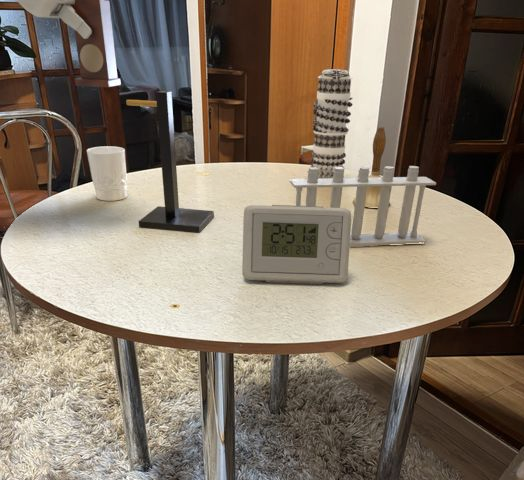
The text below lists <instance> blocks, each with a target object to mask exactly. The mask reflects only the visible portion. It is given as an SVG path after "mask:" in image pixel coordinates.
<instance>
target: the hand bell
mask: <svg viewBox="0 0 524 480" xmlns="http://www.w3.org/2000/svg"><path fill="white" fill-rule="evenodd" d="M386 137H387V136H386V132H385V126H377V130H376V132H375V133H374V136H373V140H372V141H373V142H372V156H373V161H372V166H371V167H372V168H371V174H369V177H368V178H383V176H381V175H380V172H381V161H382V157H383V155H384V152H385V149H386V142H387V138H386ZM380 193H381V186H367V192H366V200H365V207H379V200H380ZM355 199H356V196H355V197H354V198H353V199H352V204H354V205H355ZM389 204H390V205H391V202H390V201H389Z"/></svg>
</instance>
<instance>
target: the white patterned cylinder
mask: <svg viewBox="0 0 524 480" xmlns="http://www.w3.org/2000/svg"><path fill="white" fill-rule="evenodd" d="M317 78H318V84H317V91H316V101H314V102H313V108H314V109H313V110H312V111H313V112H312V114H313V115H314V116H315V117H314V118H313V119H312V123H313V125H312V130H313V132H312V133H314V139H313V140H314V142H313V145H312V151H311V153H310V155H311V157H312V158H310V162H311V163H312V164H311V165H310V167H315V168H318V172H319V173H318V179H321V178H333V173H334V172H333V171H334V168H335V167H343V168H344V169H345V167H344V165H345V164H346V160H345V159H344V158H346V157H347V155H346V152H345V151H346V145H345V143H346V136H347V135H348V132H349V128H348V127H347V125H348V124H349V123H351V120H350V118H349V117H350V116H351V115H352V113H351V111H349V110H348V109H349V108H351V107H352V106H353V105H354V104H353V103H352V102H351V101H352V100H353V97H351V94H352V93H351V86H352V80H353V77H351V76H350V73H349V71H348V70H346V69H333V68H332V69H324V70H323V71H322V72H321V73H320V75H319V76H317ZM343 178H345V176H344V175H343Z"/></svg>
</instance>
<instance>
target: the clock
mask: <svg viewBox="0 0 524 480" xmlns="http://www.w3.org/2000/svg"><path fill="white" fill-rule="evenodd" d="M71 7H72V8H73V9H74V10H75V13H76V14H77V15H78V16H79V17H81V18H82V19H83V20H84V22H88V23H89V24H90V26H91V27H92V28H93V29H94V34H93V35H92V37H91V38H90V39H84V38H83V37H82V36H81V35H80V34H79V33H78V32H77V31H76V30H75V29H73V30H74V31H73V32H74V38H75V45H76V53H77V58H78V66H79V73H80V77H79V78H78V77H77V78H74V85H75V86H76V87H77V86H78V87H94V88H95V87H96V88H112V87H118V86H121V85H122V83H121V78H119V77H118V71H117V70H118V69H117V68H118V67H117V61H116V60H117V59H116V52H115V50H116V49H115V41H114V34H113V33H114V31H113V24H112V14H111V5H110V0H75V4H71Z"/></svg>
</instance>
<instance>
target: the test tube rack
mask: <svg viewBox="0 0 524 480" xmlns="http://www.w3.org/2000/svg"><path fill="white" fill-rule="evenodd" d="M343 167H344V166H343ZM343 167H335V168H334V171H333V172H334V173H333V178H321V179H318V173H319V172H318V168H315V167H311V166H309V167H308V168H307V169H308V170H307V178H289V179H288V181H289V183H290V185H291V186H292V187H293V188H294V189H295V191H296V196H295V206H302V205H301V204H302V203H301V202H302V191H303V189H305V188H306V196H305V206H317V194H318V188H331V195H330V205H329V206H330V207H329V208H341V203H342V194H343V188H355V187H356V192H355V197H356V199H355V204H354V208H353V216H352V224H351V234H350V248H364V246H370V247H378V246H377V245H390V244H406V243H419V242H422V243H423V242H425V243H426V239H424V238H423V237H422V236H421V235H420V234H418V232H417V231H418V227H419V220H420V216H421V215H420V214H421V209H422V205H423V199H424V194H425V190H426V186H436V185H437V182H436V181H434V180H432V179H431V178H428V177H427V176H419V172H420V170H419V168H420V167H419V166H416V165H409V166H408V169H407V176H396V177H395V175H394V174H395V167H394V166H391V165H389V166H388V165H387V166H384V167H383V168H384V169H383V173H382V178H368V177H369V176H370V167H369V166H360V167H359V170H358V176H357V177H343V176H344V173H345V167H344V168H343ZM367 186H381V193H380V200H379V207H378V209H377V215H376V221H375V227H374V229H375V230H374V231H375V232H374V233H362V230H363V221H364V214H365V209H366V208H365V200H366V192H367ZM417 186H419V191H418V196H417V202H416V208H415V212H414V218H413V224H412V229H411V231H410V232H409V227H410V221H411V217H412V216H411V215H412V211H413V204H414V199H415V194H416V189H417ZM392 187H404V194H403V199H402V204H401V210H400V217H399V222H398V230H397V232H387V233H386V226H387V219H388V213H389V207H390V206H389V202H390V200H391V193H392ZM375 245H376V246H375Z"/></svg>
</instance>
